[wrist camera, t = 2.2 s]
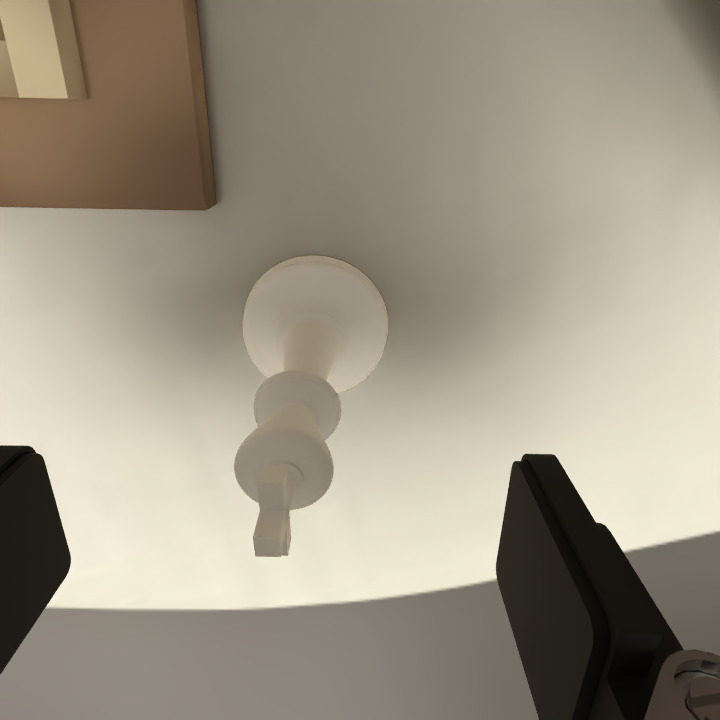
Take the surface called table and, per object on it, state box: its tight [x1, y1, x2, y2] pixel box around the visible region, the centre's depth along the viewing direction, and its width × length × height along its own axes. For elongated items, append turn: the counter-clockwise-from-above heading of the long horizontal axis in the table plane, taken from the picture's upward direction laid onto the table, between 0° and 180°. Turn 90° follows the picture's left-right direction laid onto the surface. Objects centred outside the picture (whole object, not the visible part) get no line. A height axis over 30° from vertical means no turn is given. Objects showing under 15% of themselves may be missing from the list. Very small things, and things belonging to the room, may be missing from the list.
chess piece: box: [234, 255, 388, 557], centre depth 13 cm, size 5×5×10 cm
